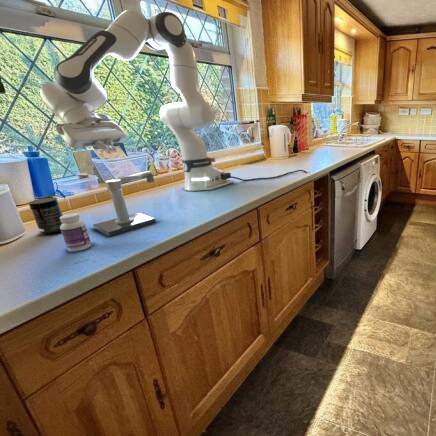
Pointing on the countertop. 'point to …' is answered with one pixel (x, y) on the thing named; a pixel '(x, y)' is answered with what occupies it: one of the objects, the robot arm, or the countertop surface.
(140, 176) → the spout
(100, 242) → the countertop surface
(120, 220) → the tap stand
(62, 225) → the pill bottle
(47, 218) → the supplement container
